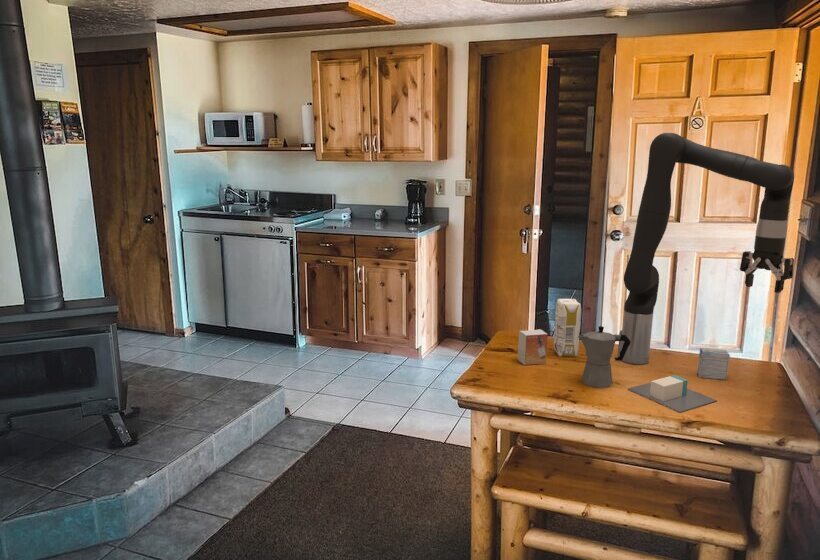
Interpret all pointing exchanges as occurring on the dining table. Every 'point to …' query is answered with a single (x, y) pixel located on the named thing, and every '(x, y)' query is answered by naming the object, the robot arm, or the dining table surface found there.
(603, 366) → the coffeepot
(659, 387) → the block
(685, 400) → the board
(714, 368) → the medicine box
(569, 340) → the juice carton
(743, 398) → the dining table surface
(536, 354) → the small box
